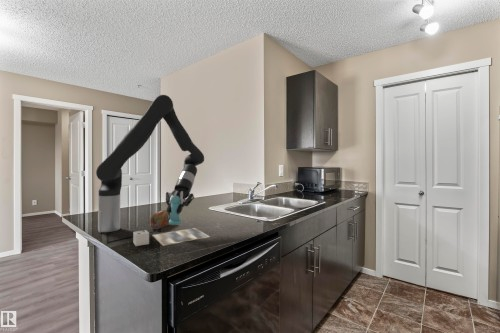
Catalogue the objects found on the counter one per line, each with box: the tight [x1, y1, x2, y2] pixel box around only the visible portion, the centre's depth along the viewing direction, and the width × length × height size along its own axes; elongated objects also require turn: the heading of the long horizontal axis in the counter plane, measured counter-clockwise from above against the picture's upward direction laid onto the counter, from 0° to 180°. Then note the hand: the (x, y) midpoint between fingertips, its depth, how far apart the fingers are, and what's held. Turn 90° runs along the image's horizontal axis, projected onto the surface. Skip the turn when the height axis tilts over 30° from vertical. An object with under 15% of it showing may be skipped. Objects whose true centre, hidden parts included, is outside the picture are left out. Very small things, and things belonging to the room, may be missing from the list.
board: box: [151, 227, 211, 247], centre depth 110 cm, size 21×17×1 cm
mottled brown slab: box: [150, 209, 171, 231], centre depth 125 cm, size 15×3×8 cm, turn 168°
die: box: [132, 229, 150, 247], centre depth 100 cm, size 5×5×5 cm
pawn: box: [168, 195, 182, 225], centre depth 108 cm, size 5×5×12 cm
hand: (173, 212), depth 107 cm, fingers closed on pawn, 3 cm apart
